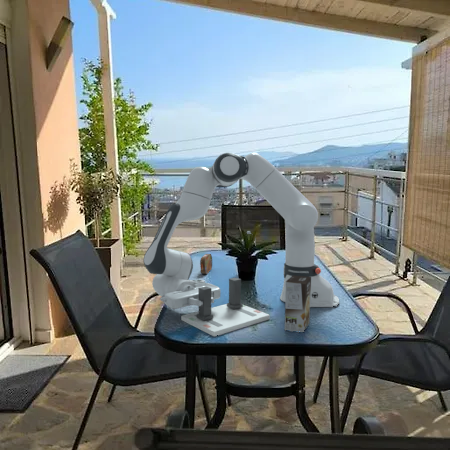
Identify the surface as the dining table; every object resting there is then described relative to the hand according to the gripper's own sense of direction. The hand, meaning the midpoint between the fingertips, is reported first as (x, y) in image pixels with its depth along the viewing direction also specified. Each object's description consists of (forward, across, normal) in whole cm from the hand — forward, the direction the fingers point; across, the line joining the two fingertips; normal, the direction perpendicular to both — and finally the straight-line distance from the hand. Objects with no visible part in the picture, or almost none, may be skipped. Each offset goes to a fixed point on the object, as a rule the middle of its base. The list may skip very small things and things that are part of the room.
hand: (207, 302), depth 140 cm
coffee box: (+20, +21, +8) cm, 30 cm away
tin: (-55, +42, +8) cm, 70 cm away
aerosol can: (-43, +58, +8) cm, 73 cm away
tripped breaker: (-1, 0, +6) cm, 6 cm away
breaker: (-3, +15, +6) cm, 16 cm away
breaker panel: (+1, +8, +8) cm, 11 cm away
